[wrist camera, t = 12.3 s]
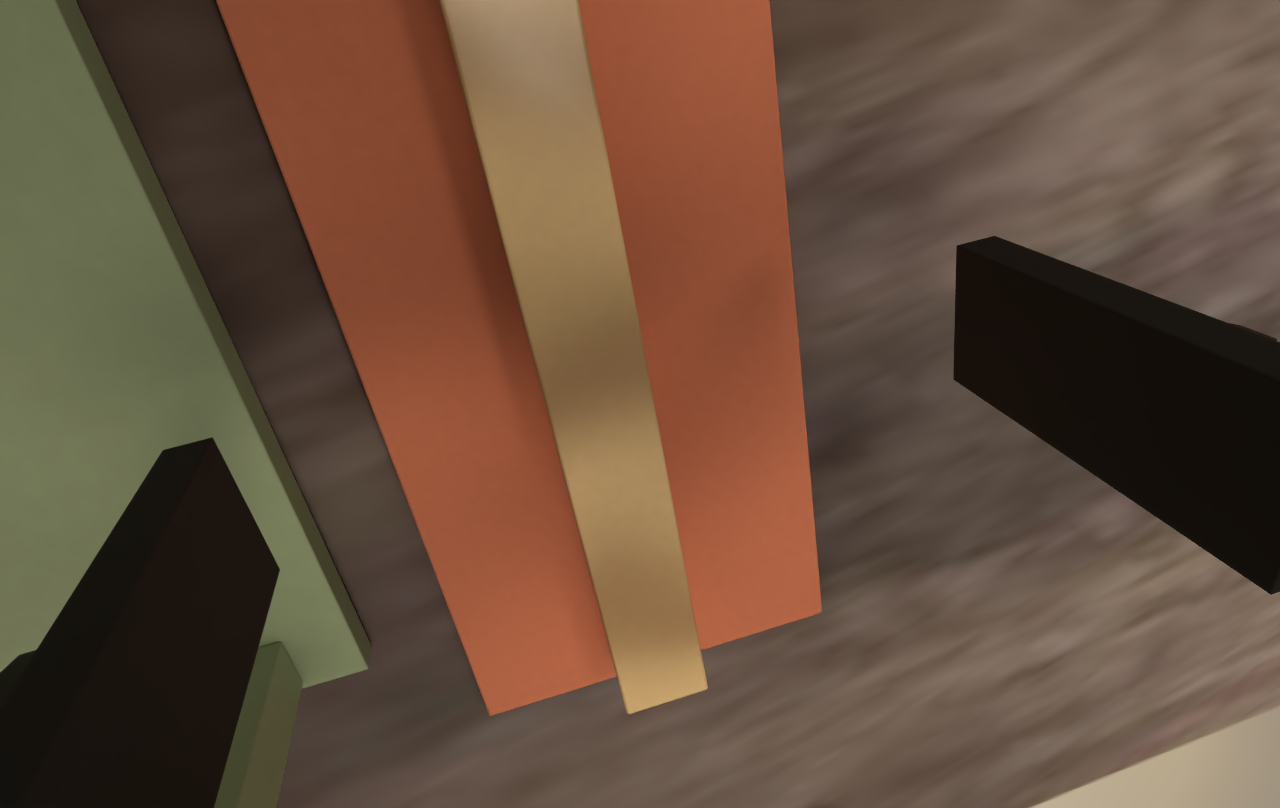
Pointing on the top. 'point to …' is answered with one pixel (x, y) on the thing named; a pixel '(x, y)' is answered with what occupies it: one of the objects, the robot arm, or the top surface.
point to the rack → (129, 382)
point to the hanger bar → (581, 323)
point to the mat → (493, 326)
